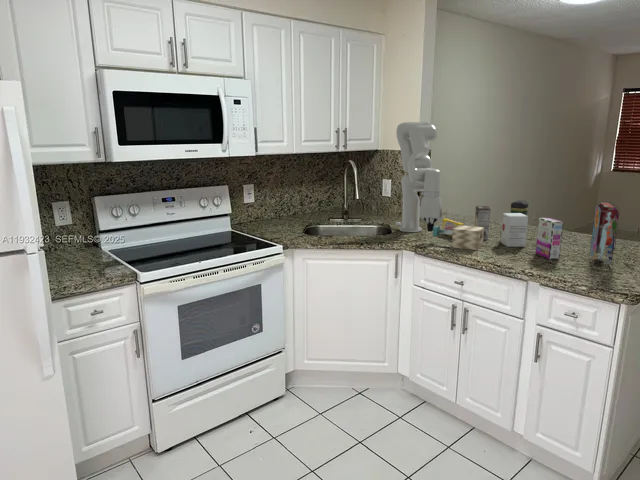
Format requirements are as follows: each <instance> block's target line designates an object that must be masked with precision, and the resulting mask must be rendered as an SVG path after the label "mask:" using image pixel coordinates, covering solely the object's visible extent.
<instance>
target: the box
mask: <svg viewBox="0 0 640 480" xmlns="http://www.w3.org/2000/svg"><path fill="white" fill-rule="evenodd" d="M598 203H599V204H598ZM598 203H596V204H595V207H594V217H593V225H592V231H591V232H592V233H591V241H590V248H589V249H590V250H589V254H590V258H591V262H592V265H593V267H596V266H600V267H601V265H599V264H598V262H597V260H599V261H601V262H602V261H603V260H604V264H607V265H609V266H608V267H607V266H606V267H605V266H604V265H602V268H604V270H605V269H611V270H612V269H613V266H614V263H613V260H614V258H615V256H614V253H615V251H616V248H615V246H616V244H617V243H616V241H617V238H616V237H617V235H618V233H617V232H618V226H619V225H618V221H619V218H620V217H619V216H620V208H619V207H617V205H615V204H614V203H612V202H603V201H600V202H598ZM610 208H611V209H610ZM617 208H618V209H617ZM614 218H615V220H614ZM613 231H614V232H613ZM614 234H615V235H614ZM604 250H605V251H606V253H605V254H604ZM596 254H598V257H596ZM603 255H604V256H605V257H606V259H603ZM593 260H594V261H593ZM594 262H595V263H594ZM595 264H596V265H595ZM610 265H611V266H612V267H610ZM609 267H610V268H609Z"/></svg>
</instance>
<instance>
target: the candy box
mask: <svg viewBox="0 0 640 480" xmlns="http://www.w3.org/2000/svg"><path fill="white" fill-rule="evenodd" d="M458 225H463V226H465V224H464V223H463V222H459V221H455V220H452V219H449V218H442V230H451V231H453V228H455V227H457V226H458ZM446 235H447V236H449V237H452V235H450V234H446Z"/></svg>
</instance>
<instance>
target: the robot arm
mask: <svg viewBox="0 0 640 480" xmlns="http://www.w3.org/2000/svg"><path fill="white" fill-rule="evenodd" d="M395 135H396V139H397V143H398V145H399V148H400V153H401V165H402V170H403V171H404V172H406V173H407V174H404V175H403V176H402V178H401V181H400V182H401V191H402V192H401V193H402V216H401V217H402V219H401V221H396V222H395V225H396V226H397V227H399V229H398V230H399V231H400V232H404V233H419V232H421V231H422V230H423V229H422V227H421V226H420V219H421V220H424V221H425V222H426V229H427V232H433V227H435V223H436V222H438V221H441V220H442V221H443V218H442V216H443V205H442V204H443V203H442V198H441V197H440V196H441V195H440V189H441V171H440V170H439V169H437V168H434V167H433V165H432V160H431V158H430V156H429V153H430V146H429V142H434V141H435V140H436V138H437V135H438V132H437V129H436V126H435V125H433V124H431V123H429V122H427V121H407V122H406V121H405V122H401V123H400V124H398V125H397V127H396V134H395ZM417 192H421V193H420V194H421V195H423V196H422V198H421V199H420V197H419V195H418V194H417Z"/></svg>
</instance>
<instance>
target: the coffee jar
mask: <svg viewBox="0 0 640 480" xmlns="http://www.w3.org/2000/svg"><path fill="white" fill-rule="evenodd" d="M528 211H529V203H528V202H527V200H521V199H519V200H516V201H513V202H511V203H510V211H509V213H522V214H524V215H526V216H528Z"/></svg>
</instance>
